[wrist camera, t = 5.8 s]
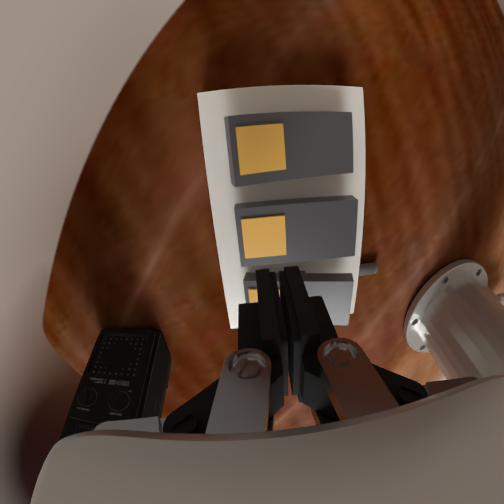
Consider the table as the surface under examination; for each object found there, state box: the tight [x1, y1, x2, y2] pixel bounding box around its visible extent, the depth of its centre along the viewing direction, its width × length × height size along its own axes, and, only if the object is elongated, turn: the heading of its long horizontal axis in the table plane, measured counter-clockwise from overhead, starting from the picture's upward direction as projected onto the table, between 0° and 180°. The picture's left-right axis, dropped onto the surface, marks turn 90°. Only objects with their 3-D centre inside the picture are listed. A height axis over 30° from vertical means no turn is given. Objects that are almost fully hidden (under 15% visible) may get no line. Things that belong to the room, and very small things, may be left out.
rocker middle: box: [234, 195, 358, 267], centre depth 17 cm, size 7×4×2 cm, turn 95°
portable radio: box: [59, 329, 171, 441], centre depth 15 cm, size 8×6×25 cm
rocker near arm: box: [243, 271, 354, 325], centre depth 19 cm, size 7×4×2 cm, turn 95°
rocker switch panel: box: [197, 85, 378, 329], centre depth 20 cm, size 13×17×3 cm
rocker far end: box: [224, 111, 353, 187], centre depth 15 cm, size 7×4×2 cm, turn 94°
